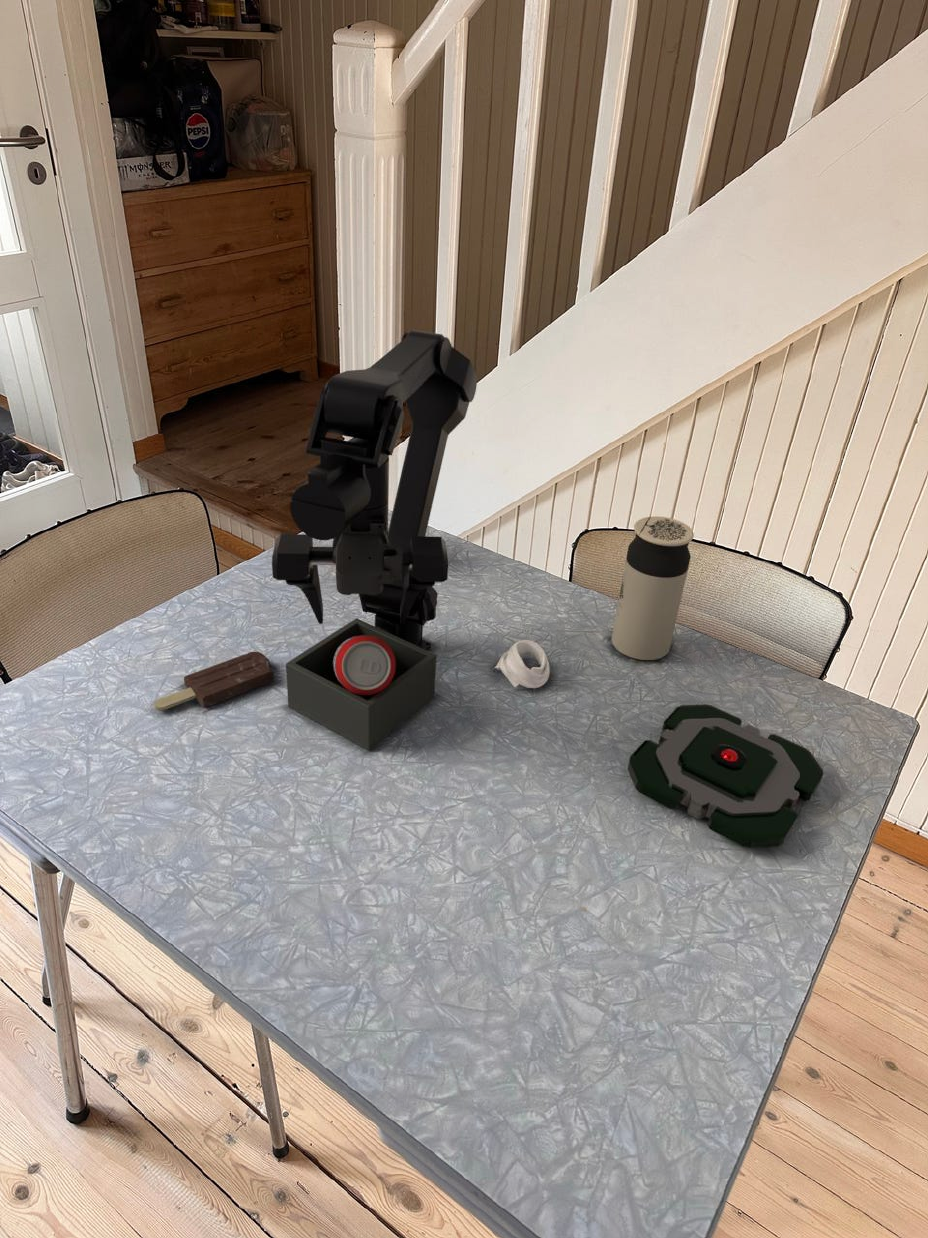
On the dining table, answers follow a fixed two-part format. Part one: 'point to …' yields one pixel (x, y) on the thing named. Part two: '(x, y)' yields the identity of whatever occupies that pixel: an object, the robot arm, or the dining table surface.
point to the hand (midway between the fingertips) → (361, 622)
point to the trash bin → (352, 713)
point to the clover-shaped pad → (726, 774)
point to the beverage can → (364, 664)
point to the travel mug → (652, 587)
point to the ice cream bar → (222, 681)
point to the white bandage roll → (518, 671)
